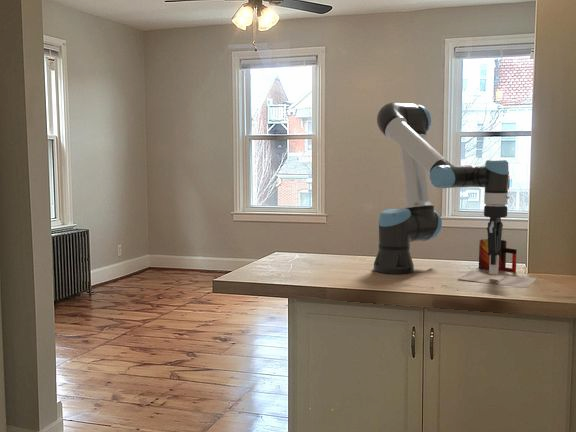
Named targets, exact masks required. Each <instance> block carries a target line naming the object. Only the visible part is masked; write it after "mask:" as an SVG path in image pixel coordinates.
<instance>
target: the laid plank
mask: <svg viewBox="0 0 576 432" xmlns="http://www.w3.org/2000/svg"><path fill="white" fill-rule="evenodd" d="M536 280H537V278H536V277H529V276H528V277H527V276H526V277H525V276H517V275H516V276H515V275H508V274H507V275H506V276H505V277H503V278H502V279H501V280H499V281H498V282H497V283H495V285H497V286H498V285H499V286H509V287H516V288H527V289H528V288H529V287H530V286H531V285H532V284H533V283H534V282H535V281H536Z"/></svg>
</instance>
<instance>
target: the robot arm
mask: <svg viewBox="0 0 576 432" xmlns="http://www.w3.org/2000/svg"><path fill="white" fill-rule="evenodd" d="M376 124H377V127H378V128H379V130H380V132H381V133H382V134H383V135H384V136H385V137H386V138H387V139H389V140H393V141H394V142H395V143H396V144H397V145H398V146H400V147H401V156H402V167H403V175H404V176H403V177H404V187H405V196H406V204H405V205H404V207H403V208H402V207H398V208H389V209H385V210H383V211H381V212H380V213H379V218H378V219H379V220H378V250H377V253H376V256H375V259H374V262H373V271H375V272H377V273H382V274H387V275H388V274H389V275H403V274H404V275H405V274H410V273H414V271H415V270H414V269H415V264H414V261H413V259H412V255H411V252H410V245H411V243H413V242H425V241H430V240H433V239H435V238H436V237H438V235H439V234H440V232H441V230H442V226H443V223H442V221H443V220H442V216H441V215H440V214H439V213H438V212H439V211H436V210H435V205H434V204H433V202H431V200H430V196H429V195H430V194H429V186H428V177H427V175H428V174H429V180H430V183H431V184H432V186H434V187H435V188H438V189H451V188H453V189H454V188H484V199H483V204H484V206H483V215H484V216H483V217H485V218H489V221H488V223H487V227H486V231H487V232H486V233H487V239H488V253H487V255H490V261H489V270H488V273H489V274H499V271H498V263H499V255H501V253H499V252H500V248H501V240H502V237H503V235H502V234H503V229H504V228H503V227H504V225H503V222H502V219H501V218H507V217H508V206H507V205H508V199H510V195H509V193H508V192H509V191H508V188H509V176H510V171H509V162H508V161H507V160H505V159H487V160H485V165H472V164H471V165H470V164H469V165H465V164H464V165H454V164H451V163H450V162H449V161H448V160H447V159H446V158H445V157H444V156H442V154H441V153H439V151H437V150H436V149H435V148H434V147H433V146H432V145H431V144H429V142H428V141H426V140H425V139H426V137H427V132H428V131H429V130H430V127H431V126H432V117H431V113H430V112H429V110H428V109H427V107H425V106H424V105H421V104H417V103H405V102H403V103H402V102H389V103H386V104H384V105H383V106H382V107H381V108H380V109H379V111H378V113H377V116H376ZM427 173H428V174H427Z"/></svg>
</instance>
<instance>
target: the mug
mask: <svg viewBox="0 0 576 432" xmlns="http://www.w3.org/2000/svg"><path fill="white" fill-rule="evenodd" d="M507 242H508V241H507V240H503V239H501V248H500V252H499V253H501V255H499V263H498V272H499V271H503V272H508V273H509V272H510V273H517V251H518V250H517V249H515V248H509V247H507ZM478 246H479V248H478V268H479V269H480V270H484V271H489V261H490V255H487V253H488V238H484V239H483V238H482V239H479V245H478ZM507 254H512V257H511V258H512V259H511V260H512V262H511V263H512V264H511V267H507V266H506V264H507V263H506V261H507Z"/></svg>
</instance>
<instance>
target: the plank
mask: <svg viewBox="0 0 576 432" xmlns="http://www.w3.org/2000/svg"><path fill="white" fill-rule="evenodd" d="M505 276H507V275H506V274H500V273H498V274H489V272H486V271H479V270H470V271H469V272H467V273H465V274H463V275H461V276H460V277H459V278H458V279H457V281H461V282H471V283H479V284H489V285H496V283H497V282H499V281H500V280H501V279H503V278H504V277H505Z"/></svg>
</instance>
